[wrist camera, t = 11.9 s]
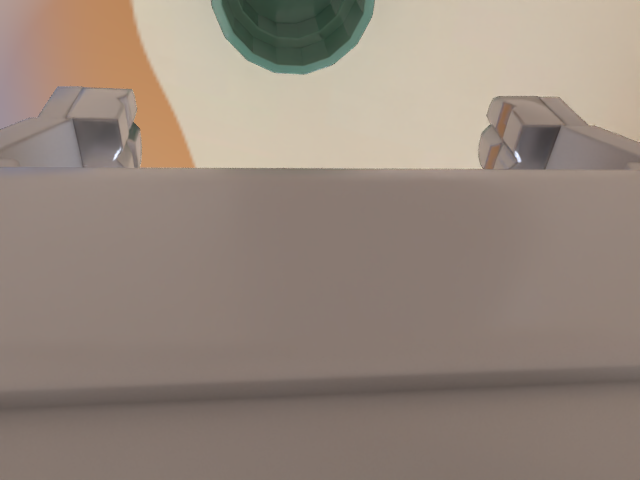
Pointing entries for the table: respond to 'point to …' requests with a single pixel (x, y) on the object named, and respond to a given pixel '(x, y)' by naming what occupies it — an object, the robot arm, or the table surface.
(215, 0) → the cylindrical container
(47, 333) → the robot arm
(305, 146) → the table surface
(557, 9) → the table surface
